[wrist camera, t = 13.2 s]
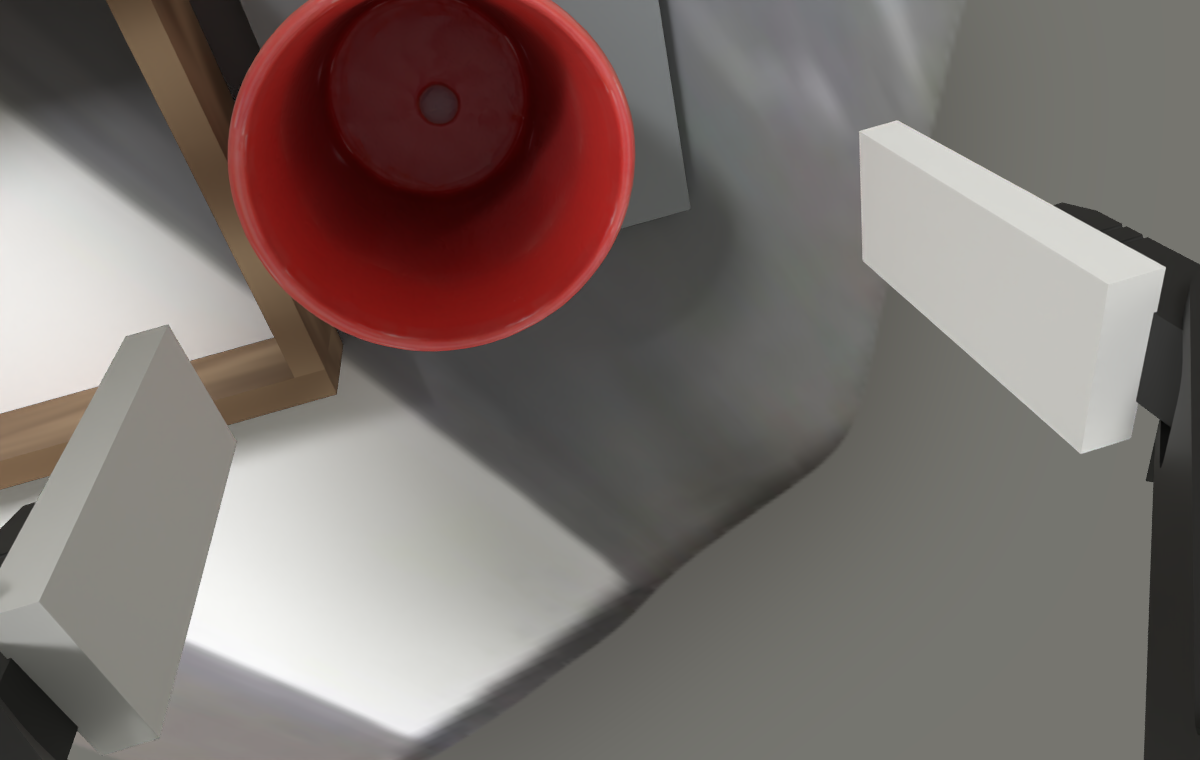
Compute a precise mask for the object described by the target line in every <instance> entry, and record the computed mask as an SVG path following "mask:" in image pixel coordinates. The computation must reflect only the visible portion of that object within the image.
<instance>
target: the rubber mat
mask: <svg viewBox="0 0 1200 760" xmlns="http://www.w3.org/2000/svg"><path fill="white" fill-rule="evenodd" d="M307 1H308V0H240V2H241V5H242V7H243V10H244V12H245V14H246V17H247V19H248V22H249V24H250V26H251V29H252V31H253V34H254V36H255V38H256V41H257V43H258V46H259V48H260V49H261V48H262V46H263V45H264V44H265V42H266V41H267V40H268V38H269V37H270V36H271V35H272V34H273V33H274V32H275V30H276V29H277V28H278V27H279V26H280V25H281V24H282V23H283V22H284V21H285V20H286V19H287V18H288V17H289V15H291V14H292V13H293V12H294V11H295V10H297V9H298V8H299V7H300V6H302V5H303V4H304V3H306V2H307ZM552 1H553V2H554V3H556V4H557V5H559V6H560V7H561V8H562V9H564V10H565V11H566V12H567V13H569V14H570V15H571V16H572V17H573V18H574V19H575V20H576V21H577V22H578V23H579V24H580V25H581V26H582V27H583V28H584V29H585V30H586V31H587V32H588V33H589V34H590V35H591V37H592V38H593V39H594V40H595V41H596V42H597V44H598V45H599V47H600V48H601V49H602V51H603V52H604V53H605V55H606V57H607V58H608V60H609V62H610V63H611V65H612V67H613V68H614V70H615V72H616V74H617V76H618V79H619V81H620V83H621V85H622V87H623V90H624V93H625V95H626V98H627V101H628V105H629V108H630V112H631V116H632V121H633V126H634V137H635V169H634V180H633V187H632V191H631V196H630V201H629V205H628V209H627V212H626V215H625V218H624V221H623V223H622V226H621V228H620V229H622V228H625V227H629V226H633V225H636V224H640V223H643V222H647V221H651V220H654V219H658V218H661V217H665V216H669V215H672V214H676V213H679V212H683V211H686V210H690V209H691V207H690V201H689V195H688V188H687V182H686V175H685V169H684V162H683V156H682V150H681V143H680V137H679V130H678V124H677V117H676V111H675V104H674V98H673V92H672V85H671V79H670V72H669V66H668V59H667V53H666V46H665V40H664V34H663V27H662V21H661V14H660V8H659V1H658V0H552Z"/></svg>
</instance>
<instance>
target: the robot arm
mask: <svg viewBox="0 0 1200 760" xmlns="http://www.w3.org/2000/svg"><path fill="white" fill-rule="evenodd" d="M859 142H860V178H861V215H862V251H863V261H864V262H865V263H866V264H867V265H868V266H869V267H870V268H872V269H873V270H874V271H875V272H876V273H877V274H878V275H879V276H881V277H882V278H883V279H884V280H885V281H886V282H887V283H888V284H890V285H891V286H892V287H893V288H894V289H895V290H896V291H897V292H899V293H900V294H901V295H902V296H903V297H904V298H905V299H907V300H908V301H909V302H910V303H911V304H912V305H913V306H914V307H916V308H917V309H918V310H919V311H920V312H921V313H922V314H924V315H925V316H926V317H927V318H928V319H929V320H930V321H931V322H932V323H934V324H935V325H936V326H937V327H938V328H939V329H940V330H941V331H943V332H944V333H945V334H946V335H947V336H948V337H949V338H951V339H952V340H953V341H954V342H955V343H956V344H957V345H958V346H960V347H961V348H962V349H963V350H964V351H965V352H966V353H967V354H969V355H970V356H971V357H972V358H973V359H974V360H975V361H977V362H978V363H979V364H980V365H981V366H982V367H983V368H984V369H985V370H987V371H988V372H989V373H990V374H991V375H992V376H993V377H995V378H996V379H997V380H998V381H999V382H1000V383H1001V384H1002V385H1004V386H1005V387H1006V388H1007V389H1008V390H1009V391H1010V392H1011V393H1013V394H1014V395H1015V396H1016V397H1017V398H1018V399H1019V400H1021V401H1022V402H1023V403H1024V404H1025V405H1026V406H1027V407H1028V408H1030V409H1031V410H1032V411H1033V412H1034V413H1035V414H1037V416H1039V417H1040V418H1041V419H1042V420H1043V421H1044V422H1045V423H1047V424H1048V425H1049V426H1050V427H1051V428H1052V429H1053V430H1054V431H1055V432H1057V433H1058V434H1059V435H1060V436H1061V437H1062V438H1064V440H1066V441H1067V442H1068V443H1069V444H1070V445H1071V446H1073V447H1074V448H1075V449H1076V450H1077V451H1078V452H1079V453H1080V454H1082V453H1086V452H1089V451H1092V450H1095V449H1099V448H1102V447H1105V446H1108V445H1112V444H1114V443H1118V442H1121V441H1125V440H1128V439H1131V436H1132V431H1133V426H1134V421H1135V416H1136V411H1137V406H1138V403H1139V404H1140V405H1141V406H1143V407H1144V408H1145V409H1147V410H1148V411H1149V412H1151V413H1152V414H1154V415H1155V416H1156V417H1157V418H1159V419H1160V420H1159V424H1158V429H1157V433H1156V438H1155V443H1154V447H1153V451H1152V456H1151V460H1150V464H1149V469H1148V473H1147V478H1146V481H1149V482H1153V483H1154V484H1153V511H1152V540H1151V571H1150V598H1149V599H1150V600H1149V627H1148V657H1147V684H1146V713H1145V714H1146V715H1145V743H1144V760H1200V264H1198V263H1196V262H1194V261H1192V260H1190V259H1188V258H1186V257H1184V256H1183V255H1181V254H1179V253H1177V252H1175V251H1173V250H1171V249H1169V248H1167V247H1165V246H1163V245H1161V244H1160V243H1158V242H1156V241H1154V240H1152V239H1150V238H1148V237H1147V238H1143V236H1142V234H1140V233H1138V232H1136V231H1135V230H1132V229H1131V228H1129V227H1122V224H1121V223H1119V222H1117V221H1115V220H1113V219H1111V218H1109V217H1108V216H1106V215H1104V214H1102V213H1100V212H1098V211H1096V210H1091V209H1087V208H1083V207H1079V206H1075V205H1070V204H1066V203H1059V204H1056V205H1051V204H1049V203H1047V202H1046V201H1044V200H1042V199H1040V198H1038V197H1036V196H1035V195H1033V194H1031V193H1029V192H1027V191H1025V190H1024V189H1022V188H1020V187H1018V186H1016V185H1014V184H1013V183H1011V182H1009V181H1007V180H1005V179H1004V178H1001V177H1000V176H998V175H996V174H994V173H993V172H991V171H989V170H987V169H985V168H983V167H982V166H980V165H978V164H976V163H974V162H972V161H971V160H969V159H967V158H965V157H963V156H962V155H960V154H958V153H956V152H954V151H952V150H950V149H948V148H947V147H945V146H943V145H941V144H939V143H938V142H936V141H934V140H932V139H930V138H929V137H927V136H925V135H923V134H921V133H919V132H918V131H916V130H914V129H912V128H910V127H909V126H907V125H905V124H903V123H901V122H899V121H898V120H897V121H894V122H890V123H887V124H883V125H879V126H876V127H872V128H869V129H865V130H862V131H859ZM236 443H237V441H236V439H235V438H234V436H233V434H232V433H231V431H230V429H229V428H228V426H227V424H226V422H225V421H224V419H223V417H222V416H221V414H220V412H219V410H218V409H217V407H216V405H215V404H214V402H213V400H212V398H211V397H210V395H209V393H208V392H207V390H206V388H205V386H204V385H203V383H202V381H201V380H200V378H199V376H198V374H197V373H196V371H195V369H194V368H193V366H192V364H191V363H190V361H189V359H188V357H187V356H186V354H185V352H184V351H183V349H182V347H181V345H180V344H179V342H178V340H177V339H176V337H175V335H174V333H173V332H172V330H171V328H170V327H169V325H165V326H161V327H158V328H154V329H151V330H147V331H143V332H140V333H136V334H133V335H129V336H126V337H125V339H124V341H123V343H122V344H121V346H120V348H119V350H118V352H117V354H116V355H115V357H114V359H113V361H112V363H111V365H110V367H109V368H108V370H107V372H106V374H105V376H104V378H103V379H102V381H101V383H100V385H99V387H98V389H97V390H96V392H95V394H94V396H93V398H92V400H91V402H90V403H89V405H88V407H87V409H86V411H85V413H84V414H83V416H82V418H81V420H80V422H79V424H78V426H77V427H76V429H75V431H74V433H73V435H72V437H71V438H70V440H69V442H68V444H67V446H66V448H65V449H64V451H63V453H62V455H61V457H60V459H59V461H58V462H57V464H56V466H55V468H54V470H53V472H52V473H51V475H50V477H49V479H48V481H47V483H46V485H45V486H44V488H43V490H42V492H41V494H40V496H39V497H38V499H37V501H36V502H35V503H31V504H28V505H25V506H23V507H22V508H21V509H20V510H19V511H18V512H17V513H16V514H15V515H14V516H13V517H12V518H11V519H10V520H9V521H8V522H7V523H6V524H5V525H4V526H3V527H2V528H1V529H0V760H68V759H67V758H68V755H69V752H70V749H71V746H72V743H73V741H74V738H75V735H76V732H77V731H78V732H79V733H80V734H81V735H82V736H83V737H84V738H85V739H86V740H87V741H88V742H89V743H90V744H91V745H92V746H93V747H94V748H95V749H96V750H97V751H98V752H99V753H100V755H101V756H104V755H107V754H110V753H113V752H117V751H120V750H123V749H126V748H130V747H133V746H136V745H139V744H143V743H146V742H149V741H152V740H156V739H159V738H160V735H161V731H162V727H163V724H164V720H165V716H166V712H167V708H168V704H169V701H170V697H171V693H172V689H173V685H174V681H175V677H176V674H177V670H178V666H179V662H180V658H181V654H182V651H183V647H184V643H185V639H186V635H187V631H188V628H189V624H190V620H191V616H192V612H193V608H194V605H195V601H196V597H197V593H198V589H199V585H200V582H201V578H202V574H203V570H204V566H205V562H206V559H207V555H208V551H209V547H210V543H211V539H212V536H213V532H214V528H215V524H216V520H217V516H218V513H219V509H220V505H221V501H222V497H223V493H224V490H225V486H226V482H227V478H228V474H229V470H230V467H231V463H232V459H233V455H234V451H235V447H236Z"/></svg>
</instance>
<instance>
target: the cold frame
mask: <svg viewBox="0 0 1200 760" xmlns="http://www.w3.org/2000/svg"><path fill="white" fill-rule="evenodd" d="M106 2H107V4H108V6H109V8H110V10H111V12H112V14H113V16H114V18H115V20H116V22H117V24H118V26H119V28H120V30H121V32H122V34H123V36H124V38H125V40H126V42H127V44H128V46H129V48H130V50H131V52H132V54H133V56H134V58H135V60H136V62H137V64H138V66H139V68H140V70H141V72H142V74H143V76H144V78H145V80H146V82H147V84H148V86H149V88H150V90H151V92H152V94H153V96H154V98H155V100H156V102H157V104H158V106H159V108H160V110H161V112H162V114H163V116H164V118H165V120H166V122H167V124H168V126H169V128H170V130H171V132H172V134H173V136H174V138H175V140H176V142H177V144H178V146H179V148H180V150H181V152H182V154H183V156H184V158H185V160H186V162H187V164H188V166H189V168H190V170H191V172H192V174H193V176H194V178H195V180H196V182H197V184H198V186H199V188H200V190H201V192H202V194H203V196H204V198H205V200H206V202H207V204H208V206H209V208H210V210H211V212H212V214H213V216H214V218H215V220H216V222H217V224H218V226H219V228H220V230H221V232H222V234H223V236H224V238H225V240H226V242H227V244H228V246H229V248H230V250H231V252H232V254H233V256H234V258H235V260H236V262H237V264H238V266H239V268H240V270H241V272H242V274H243V276H244V278H245V280H246V282H247V284H248V286H249V288H250V290H251V292H252V294H253V296H254V298H255V300H256V302H257V304H258V306H259V308H260V310H261V312H262V314H263V316H264V318H265V320H266V322H267V324H268V326H269V328H270V330H271V332H272V334H273V336H274V338H271V339H268V340H264V341H260V342H257V343H253V344H250V345H246V346H242V347H239V348H235V349H232V350H228V351H224V352H221V353H217V354H214V355H210V356H207V357H203V358H199V359H196V360H192V361H190V363H191V364H192V366H193V368H194V369H195V371H196V373H197V374H198V376H199V378H200V380H201V381H202V383H203V385H204V386H205V388H206V390H207V392H208V393H209V395H210V397H211V398H212V400H213V402H214V404H215V405H216V407H217V409H218V410H219V412H220V414H221V416H222V417H223V419H224V421H225V422H226V424H227V425H230V424H234V423H237V422H241V421H244V420H248V419H251V418H255V417H258V416H262V415H265V414H269V413H272V412H276V411H280V410H283V409H287V408H290V407H294V406H297V405H301V404H304V403H308V402H311V401H315V400H318V399H322V398H325V397H329V396H332V395H336V394H337V389H338V381H339V374H340V366H341V358H342V350H343V343H342V341H341V339H340V337H339V334H338V332H337V330H336V328H335V327H333V326H331V325H329V324H328V323H326V322H324V321H323V320H321V319H319V318H318V317H316V316H315V315H313V314H312V313H311V312H309V311H308V310H307V309H305V308H304V307H303V306H302V305H300V304H299V303H298V302H297V301H295V300H294V299H293V298H292V297H291V296H290V295H289V294H287V293H286V292H285V291H284V290H283V289H282V287H281V286H280V285H279V284H278V283H277V282H276V281H275V280H274V279H273V278H272V276H271V275H270V274H269V273H268V271H267V270H266V269H265V267H264V265H263V264H262V262H261V261H260V259H259V258H258V256H257V255H256V253H255V252H254V250H253V248H252V246H251V245H250V243H249V241H248V239H247V237H246V235H245V233H244V230H243V228H242V225H241V223H240V220H239V217H238V215H237V212H236V208H235V205H234V202H233V198H232V194H231V188H230V182H229V175H228V137H229V128H230V122H231V117H232V113H233V108H234V104H235V102H234V100H233V98H232V96H231V94H230V91H229V89H228V87H227V85H226V82H225V80H224V78H223V76H222V73H221V71H220V69H219V67H218V65H217V62H216V60H215V58H214V56H213V53H212V51H211V49H210V47H209V44H208V42H207V40H206V38H205V36H204V33H203V31H202V29H201V27H200V24H199V22H198V20H197V18H196V15H195V13H194V11H193V9H192V7H191V4H190V2H189V0H106ZM97 389H98V387H95V388H92V389H88V390H85V391H81V392H77V393H74V394H70V395H67V396H63V397H59V398H56V399H52V400H49V401H45V402H42V403H38V404H34V405H31V406H27V407H24V408H20V409H16V410H13V411H9V412H6V413H2V414H0V490H1V489H4V488H8V487H11V486H15V485H18V484H22V483H25V482H29V481H32V480H36V479H40V478H43V477H47V476H50V475H51V473H52V472H53V470H54V468H55V466H56V464H57V462H58V461H59V459H60V457H61V455H62V453H63V451H64V449H65V448H66V446H67V444H68V442H69V440H70V438H71V437H72V435H73V433H74V431H75V429H76V427H77V426H78V424H79V422H80V420H81V418H82V416H83V414H84V413H85V411H86V409H87V407H88V405H89V403H90V402H91V400H92V398H93V396H94V394H95V392H96V390H97Z"/></svg>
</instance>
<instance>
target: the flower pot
mask: <svg viewBox="0 0 1200 760" xmlns="http://www.w3.org/2000/svg"><path fill="white" fill-rule="evenodd" d="M634 169H635V137H634V126H633V121H632V116H631V112H630V108H629V105H628V101H627V98H626V95H625V93H624V90H623V87H622V85H621V83H620V81H619V79H618V76H617V74H616V72H615V70H614V68H613V67H612V65H611V63H610V62H609V60H608V58H607V57H606V55H605V53H604V52H603V51H602V49H601V48H600V47H599V45H598V44H597V42H596V41H595V40H594V39H593V38H592V37H591V35H590V34H589V33H588V32H587V31H586V30H585V29H584V28H583V27H582V26H581V25H580V24H579V23H578V22H577V21H576V20H575V19H574V18H573V17H572V16H571V15H570V14H569V13H567V12H566V11H565V10H564V9H562V8H561V7H560V6H559V5H557V4H556V3H554V2H553V1H552V0H308V1H307V2H306V3H304V4H303V5H302V6H300V7H299V8H298V9H297V10H295V11H294V12H293V13H292V14H291V15H289V17H288V18H287V19H286V20H285V21H284V22H283V23H282V24H281V25H280V26H279V27H278V28H277V29H276V30H275V32H274V33H273V34H272V35H271V36H270V37H269V38H268V40H267V41H266V42H265V44H264V45H263V46H262V48H261V49H260V51H259V53H258V54H257V56H256V57H255V59H254V61H253V63H252V64H251V66H250V68H249V70H248V72H247V73H246V75H245V78H244V80H243V82H242V85H241V87H240V89H239V92H238V95H237V98H236V101H235V104H234V108H233V113H232V117H231V122H230V128H229V137H228V175H229V182H230V188H231V194H232V198H233V202H234V205H235V208H236V212H237V215H238V217H239V220H240V223H241V225H242V228H243V230H244V233H245V235H246V237H247V239H248V241H249V243H250V245H251V246H252V248H253V250H254V252H255V253H256V255H257V256H258V258H259V259H260V261H261V262H262V264H263V265H264V267H265V269H266V270H267V271H268V273H269V274H270V275H271V276H272V278H273V279H274V280H275V281H276V282H277V283H278V284H279V285H280V286H281V287H282V289H283V290H284V291H285V292H286V293H287V294H289V295H290V296H291V297H292V298H293V299H294V300H295V301H297V302H298V303H299V304H300V305H302V306H303V307H304V308H305V309H307V310H308V311H309V312H311V313H312V314H313V315H315V316H316V317H318V318H319V319H321V320H323V321H324V322H326V323H328V324H329V325H331V326H333V327H335V328H337V329H339V330H341V331H343V332H345V333H347V334H350V335H353V336H355V337H357V338H359V339H362V340H365V341H368V342H372V343H375V344H379V345H383V346H388V347H393V348H398V349H405V350H412V351H449V350H457V349H465V348H471V347H476V346H480V345H484V344H488V343H492V342H495V341H497V340H501V339H504V338H507V337H509V336H511V335H514V334H516V333H518V332H520V331H522V330H525V329H526V328H528V327H530V326H532V325H534V324H536V323H538V322H539V321H541V320H543V319H544V318H546V317H547V316H549V315H550V314H552V313H553V312H555V311H556V310H558V309H559V308H560V307H562V306H563V305H564V304H565V303H567V302H568V301H569V300H570V299H571V298H572V297H573V296H574V295H575V294H576V293H577V292H579V290H580V289H581V288H582V287H583V286H584V285H585V284H586V282H587V281H588V280H589V279H590V278H591V277H592V275H593V274H594V273H595V272H596V270H597V269H598V268H599V266H600V265H601V263H602V262H603V260H604V259H605V258H606V256H607V254H608V253H609V251H610V249H611V248H612V246H613V244H614V242H615V240H616V237H617V235H618V233H619V231H620V228H621V226H622V223H623V221H624V218H625V215H626V212H627V209H628V205H629V201H630V196H631V191H632V187H633V180H634Z"/></svg>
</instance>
